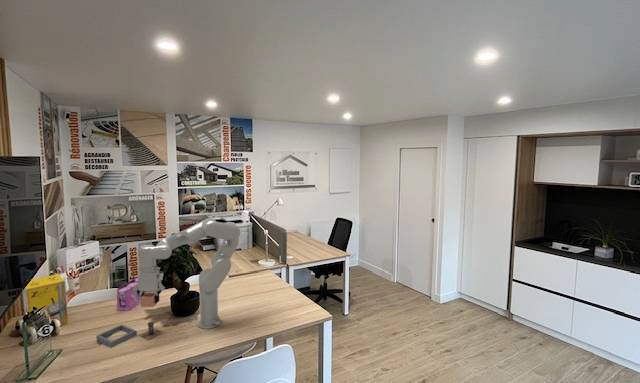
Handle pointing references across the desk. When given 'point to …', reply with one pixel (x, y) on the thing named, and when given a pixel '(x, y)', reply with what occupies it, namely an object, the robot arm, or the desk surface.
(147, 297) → the ring
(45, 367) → the desk surface
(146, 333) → the board
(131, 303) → the gum box
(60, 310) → the packaging box
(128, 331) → the tray
